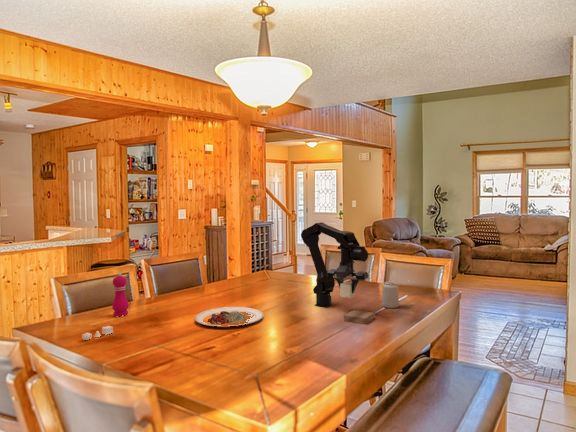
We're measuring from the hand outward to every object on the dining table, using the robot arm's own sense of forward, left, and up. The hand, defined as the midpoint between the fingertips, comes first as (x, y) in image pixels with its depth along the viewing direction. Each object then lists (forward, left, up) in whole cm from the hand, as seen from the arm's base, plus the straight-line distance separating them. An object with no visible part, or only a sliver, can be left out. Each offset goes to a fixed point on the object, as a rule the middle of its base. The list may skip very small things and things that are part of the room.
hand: (347, 292), depth 209 cm
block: (0, 0, -2) cm, 2 cm away
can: (+15, +17, -9) cm, 24 cm away
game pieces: (-72, -80, -9) cm, 108 cm away
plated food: (-41, -36, -9) cm, 55 cm away
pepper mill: (-90, -55, -9) cm, 106 cm away
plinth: (+10, -10, -9) cm, 17 cm away
